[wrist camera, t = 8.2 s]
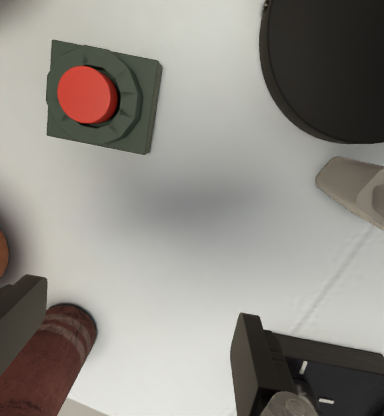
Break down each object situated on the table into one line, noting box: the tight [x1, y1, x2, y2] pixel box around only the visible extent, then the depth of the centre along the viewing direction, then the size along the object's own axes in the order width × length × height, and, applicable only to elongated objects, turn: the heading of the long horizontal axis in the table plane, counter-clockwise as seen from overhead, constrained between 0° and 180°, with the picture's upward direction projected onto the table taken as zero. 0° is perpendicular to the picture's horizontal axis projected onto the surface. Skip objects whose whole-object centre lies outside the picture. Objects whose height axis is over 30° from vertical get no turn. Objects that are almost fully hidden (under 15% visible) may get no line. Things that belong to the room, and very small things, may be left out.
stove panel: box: [273, 333, 384, 416], centre depth 29 cm, size 13×8×3 cm, turn 79°
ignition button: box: [57, 66, 118, 124], centre depth 20 cm, size 4×4×2 cm
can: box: [0, 305, 96, 416], centre depth 24 cm, size 6×6×14 cm
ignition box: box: [46, 40, 162, 155], centre depth 23 cm, size 8×7×4 cm
